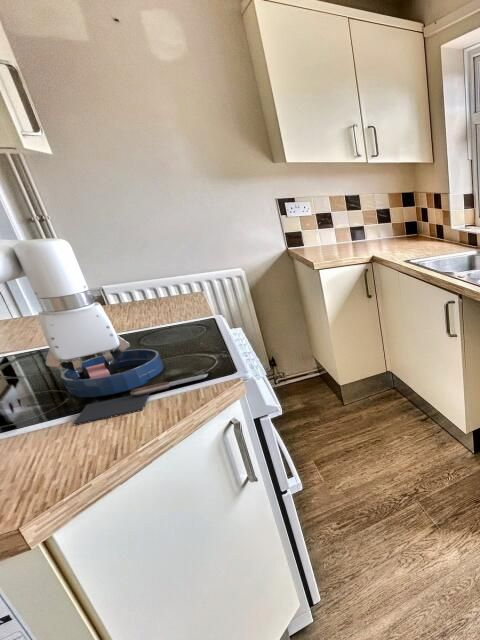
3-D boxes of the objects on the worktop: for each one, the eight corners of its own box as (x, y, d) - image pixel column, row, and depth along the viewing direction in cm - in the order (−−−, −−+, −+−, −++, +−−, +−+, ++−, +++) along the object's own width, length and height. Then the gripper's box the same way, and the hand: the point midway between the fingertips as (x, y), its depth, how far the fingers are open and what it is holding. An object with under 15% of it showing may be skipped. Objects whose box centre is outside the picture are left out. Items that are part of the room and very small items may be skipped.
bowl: (58, 407, 83) (48, 387, 82) (83, 376, 96) (75, 358, 95) (158, 387, 91) (151, 368, 89) (170, 360, 104) (163, 344, 102)
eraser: (96, 391, 88) (89, 376, 87) (91, 382, 92) (85, 367, 91) (115, 385, 90) (108, 371, 89) (109, 377, 94) (103, 363, 93)
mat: (73, 425, 77) (72, 423, 77) (87, 406, 84) (86, 404, 84) (142, 410, 82) (141, 408, 82) (150, 393, 88) (149, 391, 88)
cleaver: (207, 370, 96) (207, 373, 92) (209, 376, 97) (209, 379, 93) (131, 386, 89) (129, 391, 85) (134, 393, 89) (131, 397, 85)
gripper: (117, 290, 92) (146, 365, 99) (6, 308, 81) (48, 392, 88) (123, 296, 88) (153, 374, 95) (7, 316, 76) (51, 403, 83)
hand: (102, 382), depth 91 cm, fingers closed on eraser, 3 cm apart
